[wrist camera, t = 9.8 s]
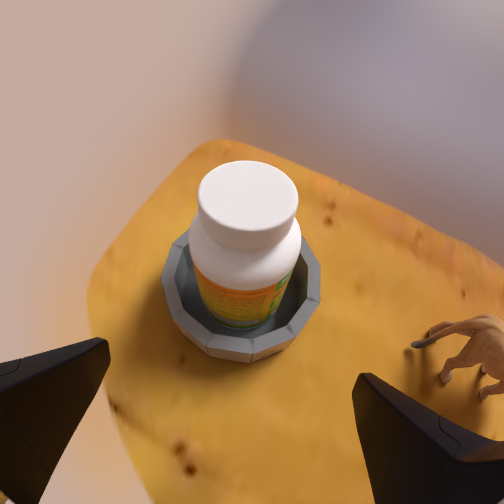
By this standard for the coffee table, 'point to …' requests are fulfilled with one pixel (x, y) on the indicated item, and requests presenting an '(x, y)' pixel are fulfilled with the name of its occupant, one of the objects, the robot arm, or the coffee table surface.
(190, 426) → the coffee table surface
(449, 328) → the lion figurine
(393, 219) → the coffee table surface
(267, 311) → the supplement bottle
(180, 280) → the grey faceted bowl
